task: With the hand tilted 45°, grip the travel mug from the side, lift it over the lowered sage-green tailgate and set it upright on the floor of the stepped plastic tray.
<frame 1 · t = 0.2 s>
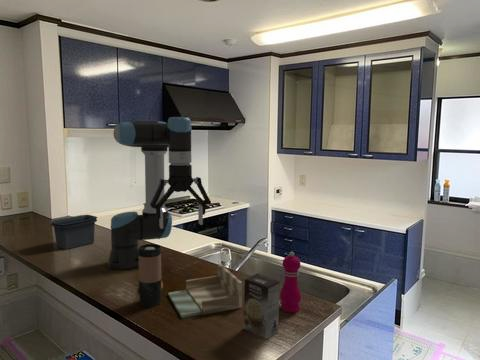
hand: (181, 225, 127), 28 cm above the countertop, tool pointing down, fingers open, 13 cm apart
storage bin: (74, 245, 197), on the countertop
pepper mill: (290, 309, 127), on the countertop
travel mug: (150, 302, 130), on the countertop
bread roll: (152, 289, 142), on the countertop
stepped plastic tray: (212, 299, 133), on the countertop
coffee box: (260, 331, 112), on the countertop
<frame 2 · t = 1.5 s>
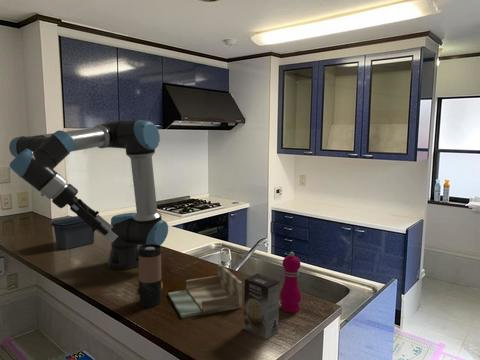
hand: (112, 234, 122), 26 cm above the countertop, tool tilted 45°, fingers open, 13 cm apart
nothing on the countertop moved.
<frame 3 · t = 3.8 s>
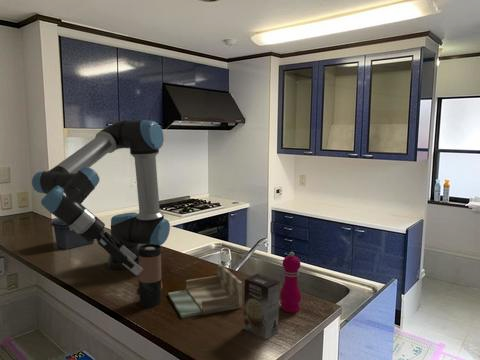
hand: (136, 265, 126), 14 cm above the countertop, tool tilted 45°, fingers open, 13 cm apart
nothing on the countertop moved.
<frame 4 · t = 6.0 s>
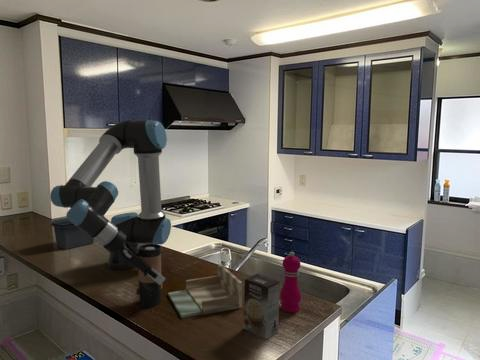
hand: (160, 277, 131), 9 cm above the countertop, tool tilted 45°, fingers closed on travel mug, 7 cm apart
travel mug: (150, 302, 130), on the countertop, touching gripper
everything else where it was.
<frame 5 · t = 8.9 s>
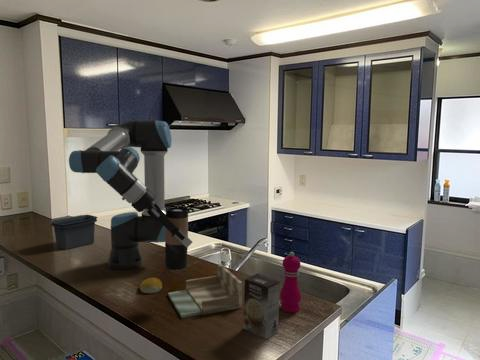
hand: (186, 241, 128), 22 cm above the countertop, tool tilted 45°, fingers closed on travel mug, 7 cm apart
travel mug: (176, 267, 128), point 13 cm above the countertop, touching gripper
everything else where it was.
when the fingers open (11 cm above the countertop, at t = 12.1 s): travel mug drops 1 cm, resting on stepped plastic tray.
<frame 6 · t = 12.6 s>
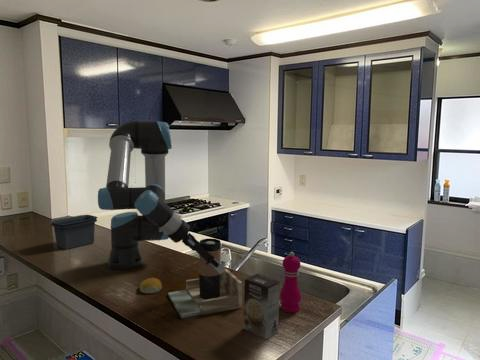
hand: (216, 264, 132), 13 cm above the countertop, tool tilted 45°, fingers open, 13 cm apart
travel mug: (209, 296, 133), point 1 cm above the countertop, touching stepped plastic tray
everything else where it was.
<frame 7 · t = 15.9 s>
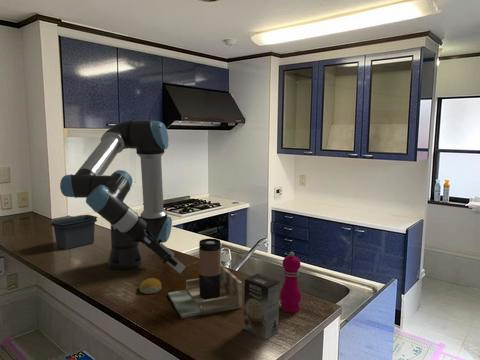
hand: (177, 263, 126), 15 cm above the countertop, tool tilted 45°, fingers open, 13 cm apart
nothing on the countertop moved.
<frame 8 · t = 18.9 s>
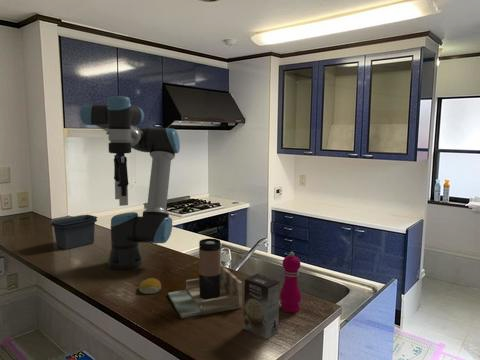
hand: (121, 202, 131), 35 cm above the countertop, tool pointing down, fingers open, 13 cm apart
at the end: travel mug inside the target area on the stepped plastic tray (0.9 cm from its centre), point 1.3 cm above the stepped plastic tray's base; travel mug tilted 0°; the gripper is holding nothing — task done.
